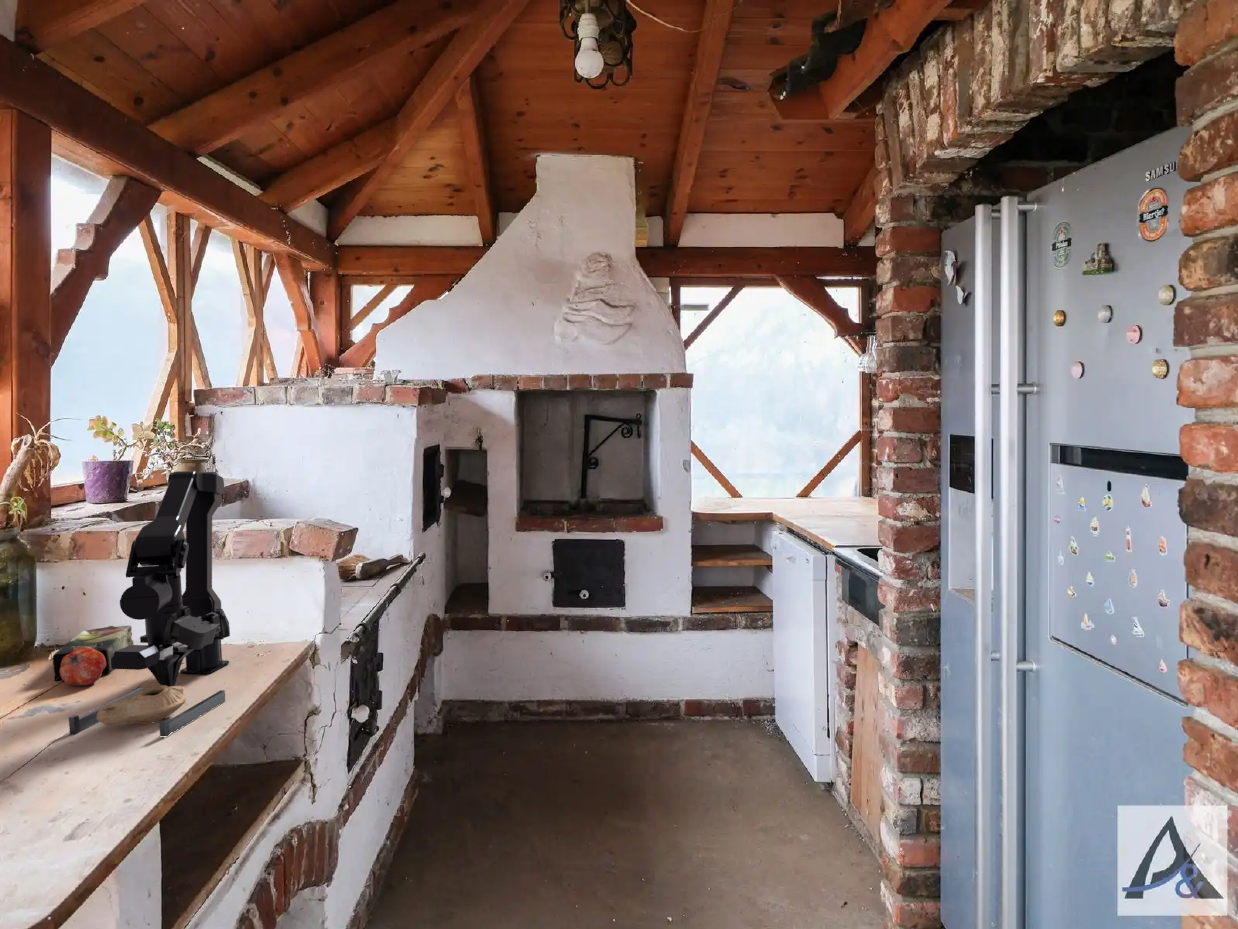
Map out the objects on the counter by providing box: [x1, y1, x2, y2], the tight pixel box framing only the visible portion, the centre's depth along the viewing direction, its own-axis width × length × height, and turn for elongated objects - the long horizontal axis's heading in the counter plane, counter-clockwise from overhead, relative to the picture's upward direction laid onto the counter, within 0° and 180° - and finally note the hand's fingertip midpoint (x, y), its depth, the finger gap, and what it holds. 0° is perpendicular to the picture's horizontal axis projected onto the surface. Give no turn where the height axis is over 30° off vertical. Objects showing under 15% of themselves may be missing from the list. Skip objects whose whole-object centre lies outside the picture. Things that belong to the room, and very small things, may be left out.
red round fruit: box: [60, 646, 106, 687], centre depth 146 cm, size 7×7×10 cm
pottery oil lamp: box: [96, 684, 188, 726], centre depth 127 cm, size 9×12×7 cm
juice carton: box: [52, 624, 134, 682], centre depth 158 cm, size 20×10×6 cm, turn 21°
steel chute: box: [68, 687, 226, 737], centre depth 129 cm, size 15×17×3 cm
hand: (169, 692), depth 133 cm, fingers closed
